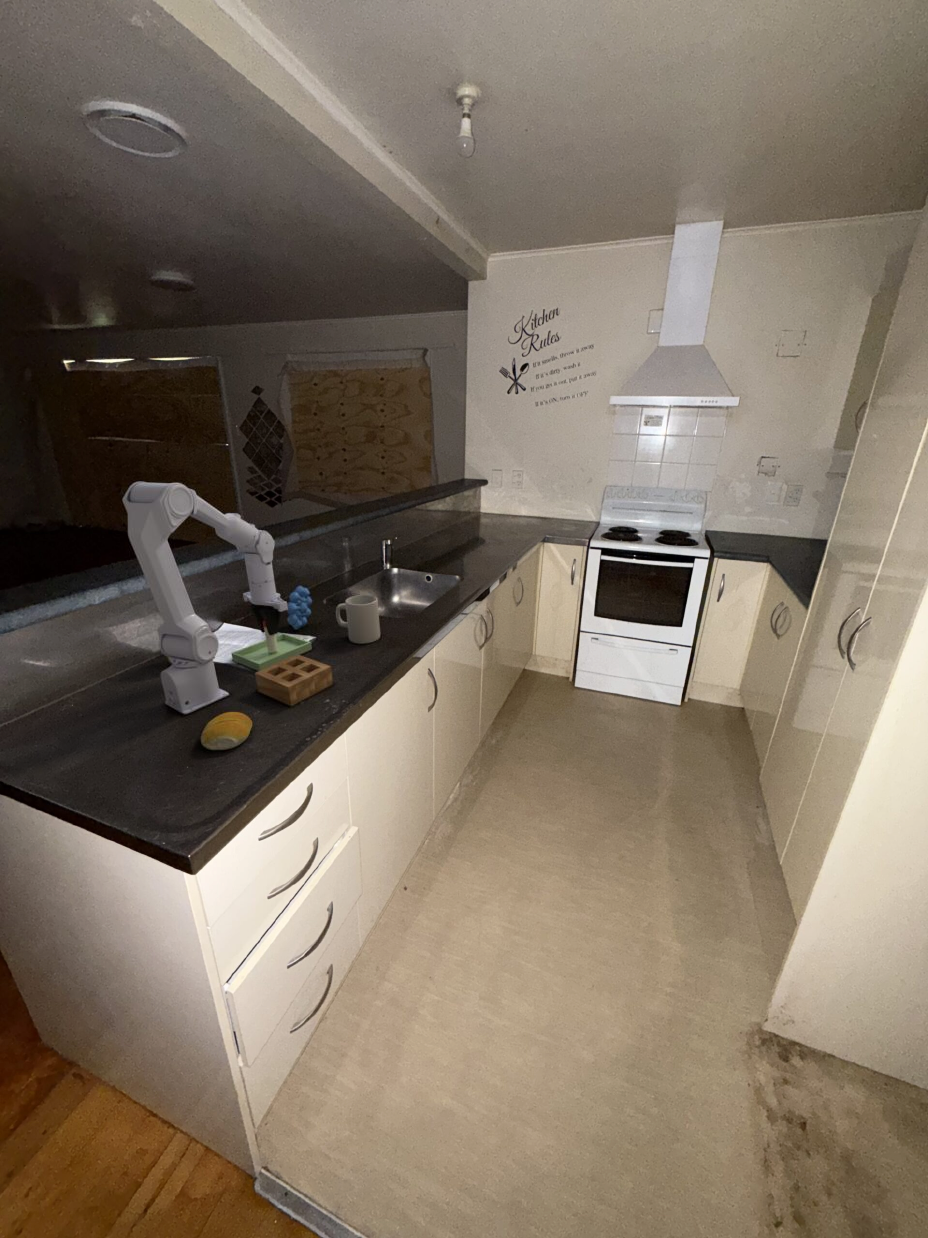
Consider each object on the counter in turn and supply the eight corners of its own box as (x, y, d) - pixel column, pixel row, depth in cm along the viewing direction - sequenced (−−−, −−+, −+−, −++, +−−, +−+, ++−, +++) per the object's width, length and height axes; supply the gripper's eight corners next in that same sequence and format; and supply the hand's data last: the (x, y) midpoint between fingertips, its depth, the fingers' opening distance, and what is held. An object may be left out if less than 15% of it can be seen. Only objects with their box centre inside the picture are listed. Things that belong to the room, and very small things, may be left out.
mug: (385, 632, 136) (382, 595, 132) (373, 645, 128) (370, 605, 124) (345, 629, 138) (341, 593, 134) (331, 641, 130) (327, 602, 126)
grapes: (299, 618, 146) (293, 580, 142) (319, 620, 145) (315, 581, 140) (277, 633, 135) (271, 592, 131) (299, 635, 134) (293, 594, 130)
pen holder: (291, 706, 99) (288, 687, 98) (257, 691, 105) (254, 673, 103) (333, 684, 108) (331, 666, 106) (300, 671, 114) (297, 654, 112)
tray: (260, 671, 114) (259, 664, 113) (232, 660, 119) (231, 652, 119) (312, 649, 125) (311, 642, 125) (284, 639, 131) (283, 633, 131)
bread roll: (255, 721, 94) (252, 703, 93) (247, 748, 86) (243, 729, 85) (209, 726, 92) (205, 708, 91) (196, 754, 84) (191, 735, 83)
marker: (271, 653, 121) (266, 623, 118) (265, 651, 122) (260, 621, 119) (280, 650, 122) (275, 620, 120) (274, 647, 124) (269, 618, 121)
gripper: (295, 580, 115) (302, 633, 120) (257, 571, 122) (265, 621, 127) (269, 588, 109) (277, 643, 114) (231, 578, 117) (241, 630, 122)
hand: (269, 632), depth 120 cm, fingers closed on marker, 2 cm apart
